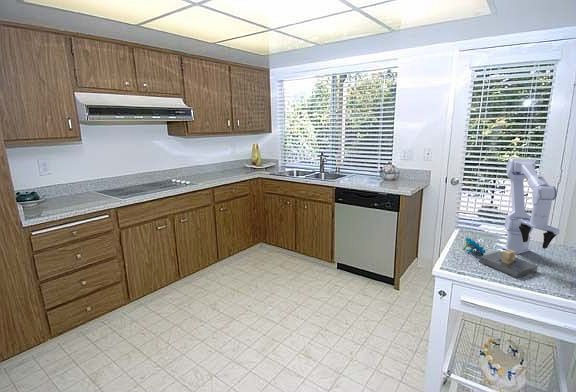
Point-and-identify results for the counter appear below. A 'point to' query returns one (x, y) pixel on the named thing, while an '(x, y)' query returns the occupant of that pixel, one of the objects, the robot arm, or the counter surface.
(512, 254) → the tan wooden beam
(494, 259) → the gray slab with hole
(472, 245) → the blue irregular piece
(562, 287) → the counter surface
